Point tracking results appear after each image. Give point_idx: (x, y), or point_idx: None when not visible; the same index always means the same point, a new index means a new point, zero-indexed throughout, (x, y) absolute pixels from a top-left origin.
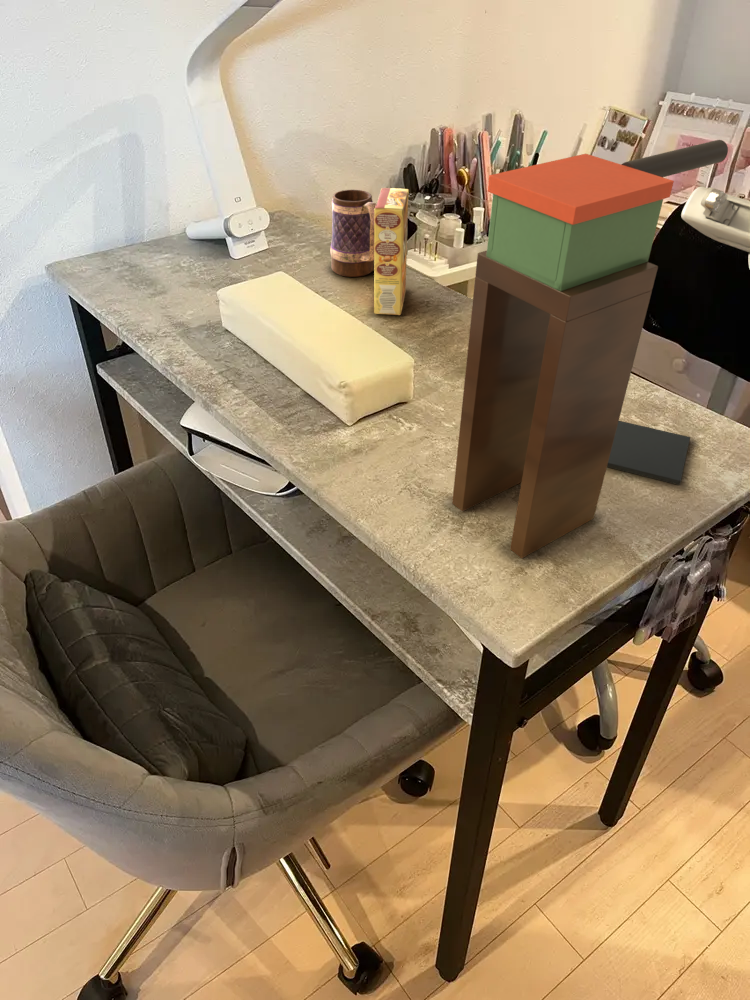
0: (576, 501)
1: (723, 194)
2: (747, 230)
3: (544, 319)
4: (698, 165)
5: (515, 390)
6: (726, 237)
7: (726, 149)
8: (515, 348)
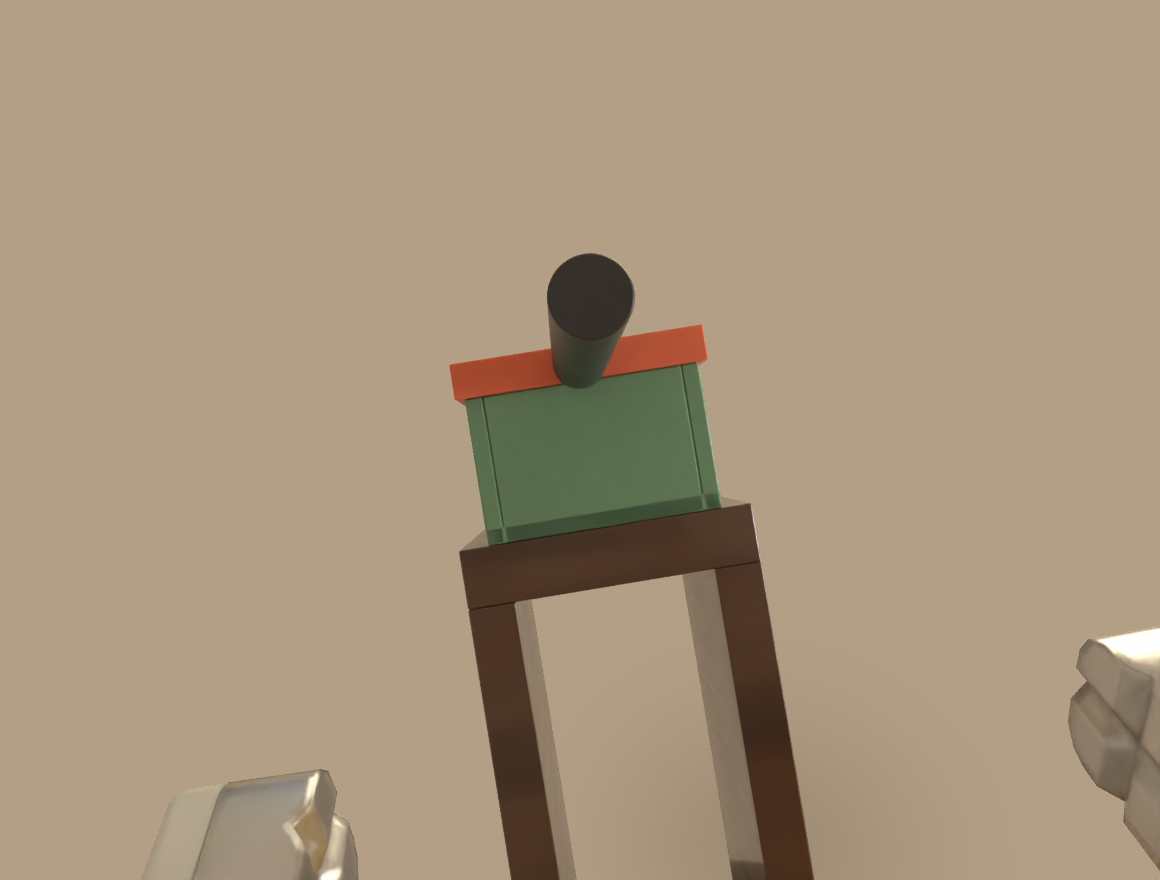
0: None
1: (1151, 695)
2: None
3: (727, 704)
4: (556, 345)
5: (743, 855)
6: None
7: (548, 288)
8: (720, 730)
